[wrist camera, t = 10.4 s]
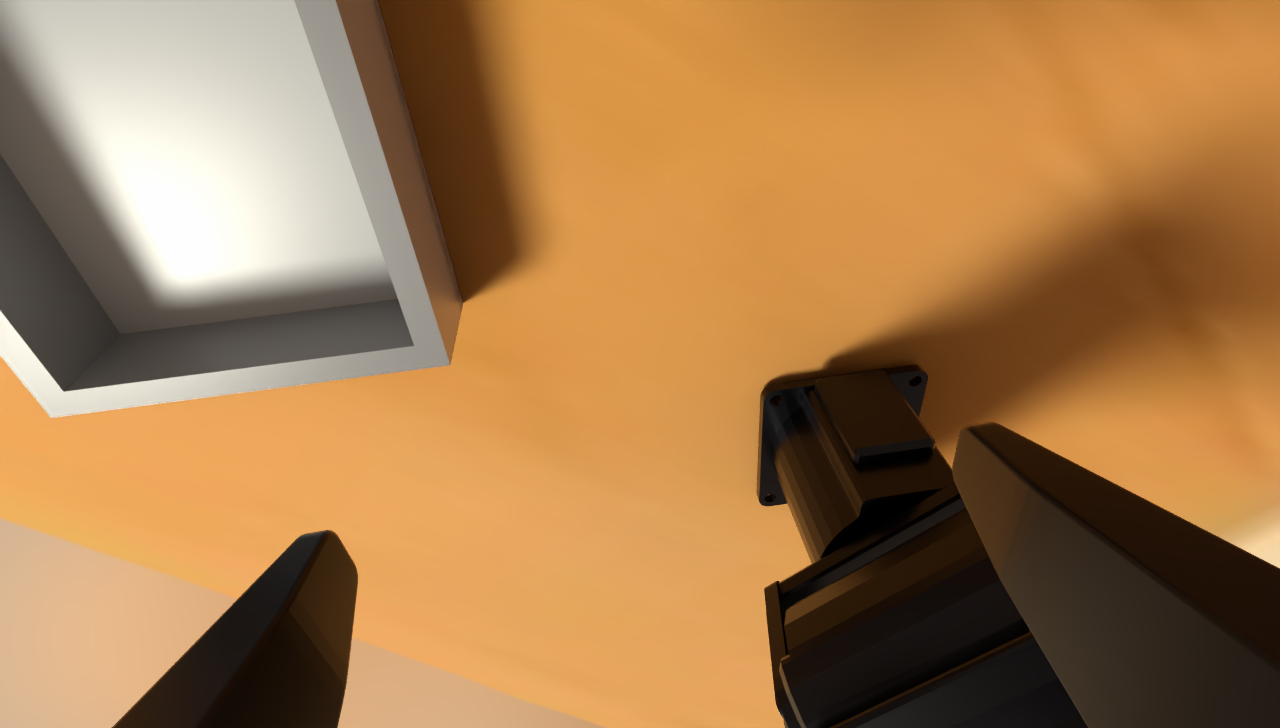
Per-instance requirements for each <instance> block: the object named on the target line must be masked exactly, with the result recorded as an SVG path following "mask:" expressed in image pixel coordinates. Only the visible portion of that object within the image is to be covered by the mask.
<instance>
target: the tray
mask: <svg viewBox="0 0 1280 728" xmlns="http://www.w3.org/2000/svg"><path fill="white" fill-rule="evenodd" d="M462 306H463V303H462V299H461V295H460V292H459V288H458V285H457V281H456V278H455V274H454V270H453V267H452V263H451V260H450V256H449V253H448V249H447V245H446V242H445V238H444V235H443V231H442V228H441V224H440V220H439V217H438V213H437V210H436V206H435V203H434V199H433V195H432V192H431V188H430V185H429V181H428V178H427V174H426V171H425V167H424V163H423V160H422V156H421V153H420V149H419V146H418V142H417V138H416V135H415V131H414V128H413V124H412V121H411V117H410V113H409V110H408V106H407V103H406V99H405V96H404V92H403V88H402V85H401V81H400V78H399V74H398V71H397V67H396V63H395V60H394V56H393V53H392V49H391V46H390V42H389V38H388V35H387V31H386V28H385V24H384V21H383V17H382V13H381V10H380V6H379V3H378V0H0V356H1V357H2V358H3V360H4V361H5V362H6V363H7V364H8V366H9V367H10V368H11V369H12V371H13V372H14V373H15V374H16V375H17V377H18V378H19V379H20V380H21V382H22V383H23V384H24V385H25V386H26V388H27V389H28V390H29V391H30V393H31V394H32V395H33V396H34V397H35V399H36V400H37V401H38V402H39V404H40V405H41V406H42V407H43V408H44V410H45V411H46V412H47V413H48V415H49V416H50V417H51V418H55V417H62V416H70V415H77V414H85V413H92V412H100V411H107V410H115V409H123V408H130V407H138V406H145V405H153V404H160V403H168V402H175V401H183V400H191V399H198V398H206V397H213V396H221V395H228V394H236V393H243V392H251V391H259V390H266V389H274V388H281V387H289V386H296V385H304V384H311V383H319V382H327V381H334V380H342V379H349V378H357V377H364V376H372V375H379V374H387V373H395V372H402V371H410V370H417V369H425V368H432V367H440V366H448V365H450V364H451V359H452V354H453V349H454V344H455V340H456V335H457V330H458V325H459V320H460V316H461V311H462Z"/></svg>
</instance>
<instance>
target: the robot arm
mask: <svg viewBox="0 0 1280 728" xmlns="http://www.w3.org/2000/svg"><path fill="white" fill-rule="evenodd" d="M915 376H916V377H915ZM912 377H915V378H914V379H912V380H910V379H911V378H912ZM927 380H928V376H927V374H926V373H925V371H924V370H923V369H922V368H921V367H920V366H918V365H908V366H901V367H894V368H886V369H879V370H872V371H865V372H857V373H850V374H843V375H835V376H828V377H821V378H813V379H806V380H799V381H792V382H784V383H777V384H772V385H769V386H767V387H766V388H764V390H763V391H762V393H761V398H760V422H759V447H758V471H757V496H758V499H759V502H760V503H761V504H762V505H764V506H774V505H781V504H787V503H788V506H789V508H790V511H791V513H792V516H793V518H794V521H795V523H796V526H797V528H798V531H799V533H800V536H801V538H802V540H803V543H804V545H805V548H806V550H807V553H808V555H809V558H810V560H811V563H812V564H811V565H809V566H807V567H806V568H804V569H802V570H800V571H799V572H797V573H795V574H793V575H792V576H790V577H788V578H787V579H785V580H783V581H781V582H779V581H776V582H774V583H773V584H771V585H769V586H767V587H766V588H765V589H764V591H765V601H766V615H767V624H768V634H769V643H770V652H771V662H772V671H773V681H774V690H775V700H776V705H777V708H778V710H779V712H780V714H781V715H782V717H783V718H784V725H785V728H1280V568H1278V567H1276V566H1274V565H1272V564H1270V563H1268V562H1266V561H1264V560H1262V559H1260V558H1258V557H1256V556H1254V555H1252V554H1251V553H1249V552H1247V551H1245V550H1243V549H1241V548H1239V547H1237V546H1235V545H1233V544H1231V543H1229V542H1227V541H1225V540H1223V539H1221V538H1219V537H1217V536H1216V535H1214V534H1212V533H1210V532H1208V531H1206V530H1204V529H1202V528H1200V527H1198V526H1196V525H1194V524H1192V523H1190V522H1188V521H1186V520H1184V519H1182V518H1181V517H1179V516H1177V515H1175V514H1173V513H1171V512H1169V511H1167V510H1165V509H1163V508H1161V507H1159V506H1157V505H1155V504H1153V503H1151V502H1149V501H1148V500H1146V499H1144V498H1142V497H1140V496H1138V495H1136V494H1134V493H1132V492H1130V491H1128V490H1126V489H1124V488H1122V487H1120V486H1118V485H1116V484H1114V483H1113V482H1111V481H1109V480H1107V479H1105V478H1103V477H1101V476H1099V475H1097V474H1095V473H1093V472H1091V471H1089V470H1087V469H1085V468H1083V467H1081V466H1079V465H1078V464H1076V463H1074V462H1072V461H1070V460H1068V459H1066V458H1064V457H1062V456H1060V455H1058V454H1056V453H1054V452H1052V451H1050V450H1048V449H1046V448H1045V447H1043V446H1041V445H1039V444H1037V443H1035V442H1033V441H1031V440H1029V439H1027V438H1025V437H1023V436H1021V435H1019V434H1017V433H1015V432H1013V431H1011V430H1010V429H1008V428H1006V427H1004V426H1002V425H1000V424H997V423H995V422H984V423H978V424H972V425H967V426H965V427H964V428H963V429H962V430H961V432H960V435H959V439H958V444H957V448H956V453H955V457H954V461H953V467H952V468H951V467H950V465H949V464H948V462H947V461H946V460H945V458H944V457H943V455H942V454H941V453H940V451H939V450H938V449H937V447H936V446H935V439H934V438H933V437H932V435H931V434H930V433H929V431H928V430H927V428H926V427H925V426H924V424H923V423H922V421H921V420H920V419H919V414H920V410H921V406H922V402H923V397H924V393H925V389H926V384H927ZM776 395H779V396H778V397H777V398H775V399H771V398H772V397H773V396H776ZM770 494H771V495H770ZM767 495H768V496H767ZM357 586H358V574H357V569H356V566H355V564H354V562H353V560H352V559H351V557H350V555H349V554H348V552H347V550H346V549H345V547H344V545H343V544H342V542H341V540H340V539H339V537H338V535H337V534H336V533H335V532H333V531H331V530H325V531H319V532H313V533H307V534H304V535H301V536H300V537H299V538H297V539H296V540H295V541H294V542H293V543H292V544H291V545H290V546H289V547H288V548H287V549H286V550H285V551H284V552H283V553H282V554H281V556H280V557H279V558H278V559H277V560H276V561H275V562H274V563H273V564H272V565H271V566H270V567H269V568H268V569H267V570H266V571H265V572H264V573H263V574H262V575H261V576H260V577H259V578H258V579H257V580H256V581H255V582H254V583H253V584H252V585H251V586H250V587H249V588H248V589H247V590H246V591H245V592H244V593H243V594H242V595H241V596H240V597H239V598H238V599H237V600H236V601H235V602H234V603H233V605H232V606H231V607H230V608H229V609H228V610H227V611H226V612H225V613H224V614H223V615H222V616H221V617H220V618H219V619H218V620H217V621H216V622H215V623H214V624H213V625H212V626H211V627H210V628H209V629H208V630H207V631H206V632H205V633H204V634H203V635H202V636H201V637H200V638H199V639H198V640H197V641H196V642H195V643H194V644H193V645H192V646H191V647H190V648H189V650H188V651H187V652H185V654H184V655H183V656H182V657H181V658H180V659H179V660H178V661H177V662H176V663H175V664H174V665H173V666H172V667H171V668H170V669H169V670H168V671H167V672H166V673H165V674H164V675H163V676H162V677H161V678H160V679H159V680H158V681H157V682H156V683H155V684H154V685H153V686H152V687H151V688H150V689H149V690H148V691H147V692H146V693H145V694H144V695H143V696H142V697H141V698H140V700H138V702H137V703H136V704H135V705H134V706H133V707H132V708H131V709H130V710H129V711H128V712H127V713H126V714H125V715H124V716H123V717H122V718H121V719H120V720H119V721H118V722H117V723H116V724H115V725H114V726H113V727H112V728H337V727H338V722H339V718H340V713H341V709H342V704H343V699H344V694H345V689H346V683H347V675H348V668H349V659H350V650H351V640H352V631H353V622H354V613H355V604H356V595H357Z"/></svg>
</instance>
